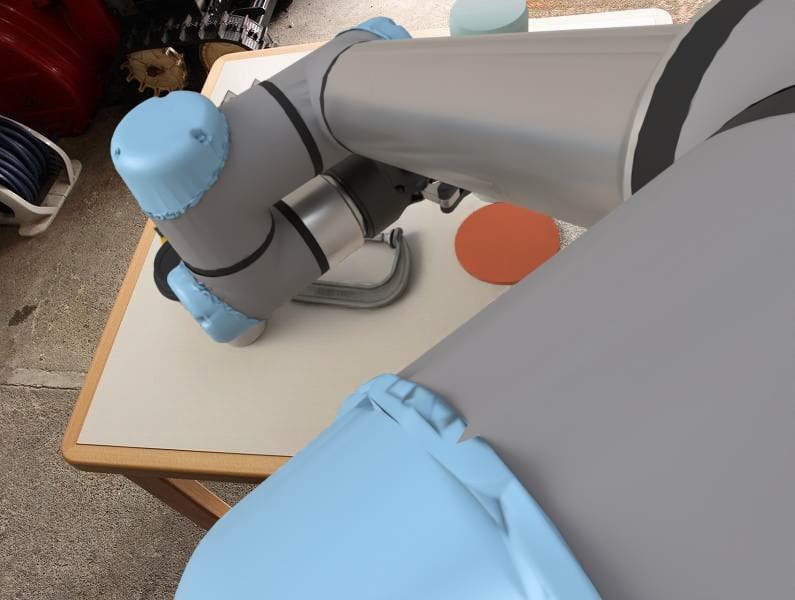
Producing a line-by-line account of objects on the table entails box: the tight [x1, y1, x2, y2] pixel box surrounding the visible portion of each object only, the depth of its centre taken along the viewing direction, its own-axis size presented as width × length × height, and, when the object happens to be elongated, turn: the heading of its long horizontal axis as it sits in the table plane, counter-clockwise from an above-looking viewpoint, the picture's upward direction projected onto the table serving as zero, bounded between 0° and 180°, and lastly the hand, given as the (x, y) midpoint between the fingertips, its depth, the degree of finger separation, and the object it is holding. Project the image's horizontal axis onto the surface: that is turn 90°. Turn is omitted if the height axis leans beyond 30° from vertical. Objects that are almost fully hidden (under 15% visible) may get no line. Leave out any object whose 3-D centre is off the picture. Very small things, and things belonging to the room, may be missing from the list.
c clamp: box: [291, 226, 412, 309], centre depth 80 cm, size 20×17×3 cm
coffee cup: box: [152, 240, 267, 348], centre depth 71 cm, size 9×9×15 cm
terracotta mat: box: [454, 202, 561, 286], centre depth 77 cm, size 13×13×1 cm
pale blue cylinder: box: [448, 0, 530, 204], centre depth 58 cm, size 6×6×20 cm
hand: (531, 71), depth 58 cm, fingers closed on pale blue cylinder, 6 cm apart
